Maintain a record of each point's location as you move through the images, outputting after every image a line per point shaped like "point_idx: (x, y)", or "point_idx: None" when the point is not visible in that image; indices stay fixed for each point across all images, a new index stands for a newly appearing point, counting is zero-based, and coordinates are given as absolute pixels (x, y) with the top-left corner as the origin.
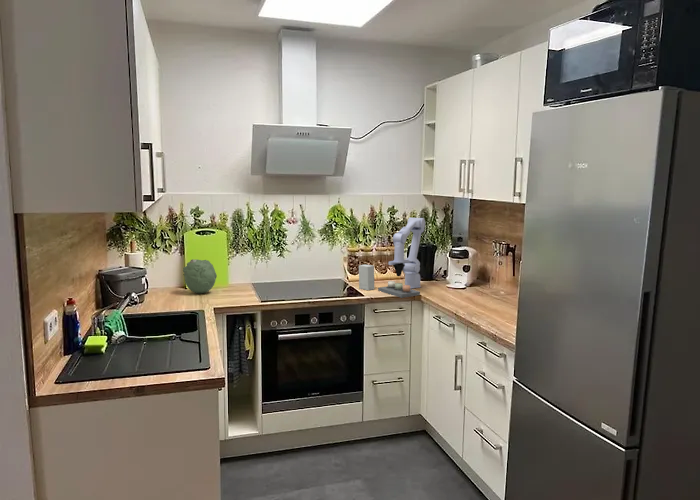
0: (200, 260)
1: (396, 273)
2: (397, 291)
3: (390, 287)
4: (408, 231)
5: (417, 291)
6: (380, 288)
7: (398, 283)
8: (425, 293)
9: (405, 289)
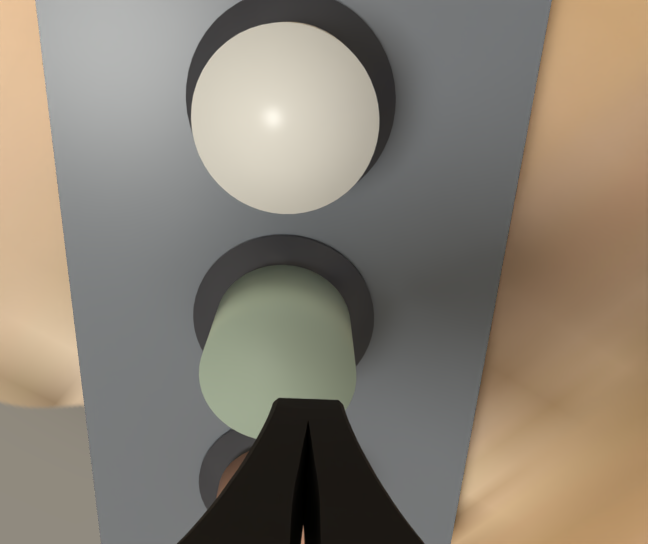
0: None
1: (258, 442)
2: (168, 405)
3: None
4: None
5: (431, 538)
6: (40, 25)
7: (284, 359)
8: (580, 498)
9: None
